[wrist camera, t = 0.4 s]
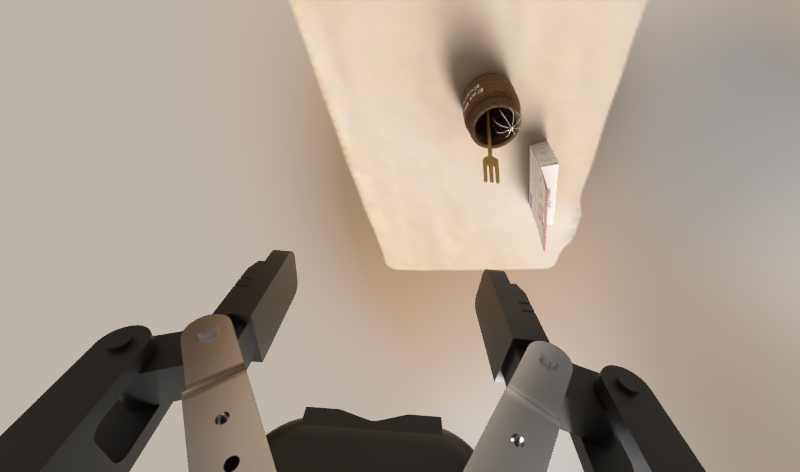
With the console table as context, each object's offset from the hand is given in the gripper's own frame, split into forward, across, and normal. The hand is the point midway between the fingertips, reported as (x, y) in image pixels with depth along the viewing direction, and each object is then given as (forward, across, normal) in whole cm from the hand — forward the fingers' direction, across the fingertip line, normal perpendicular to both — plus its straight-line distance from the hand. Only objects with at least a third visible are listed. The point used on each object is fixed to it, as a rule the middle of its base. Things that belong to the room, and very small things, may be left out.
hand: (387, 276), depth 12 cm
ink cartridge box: (+32, -20, +5) cm, 38 cm away
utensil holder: (+29, -10, -5) cm, 31 cm away
